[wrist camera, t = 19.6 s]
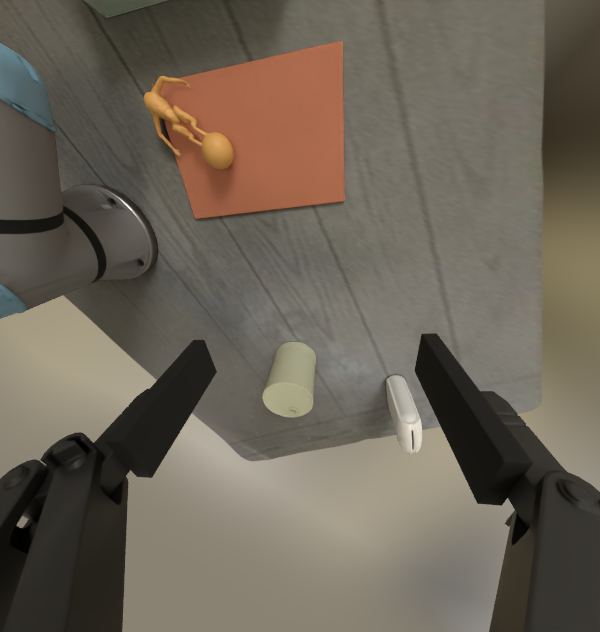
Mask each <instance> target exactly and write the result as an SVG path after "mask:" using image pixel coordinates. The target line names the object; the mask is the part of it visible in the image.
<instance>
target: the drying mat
mask: <svg viewBox="0 0 600 632" xmlns="http://www.w3.org/2000/svg"><path fill="white" fill-rule="evenodd" d="M177 79H181V80H183V81H185V82H186V83H188V84H189V85H190V87H188V86H189V85H188V86H187V87H185V86H184V85H183V84H182V83H179V84H173V83H167V82H164V84H163V87H162V90H161V95H162V96H163V97H164V98H165V99H166V100H167V101H168V103H169V105H170V106H171V108H172V109H173V107H174V106H175V105H176V106H177V107H178V108H180V109H181V110H182V111H184V112H186V113H188V114H189V115H191V116H192V117H194V118H195V119H196V121H197V128H199V129H200V130H202V131H204V132H206V133H212V132H217V133H220V134H222V135H224V136H225V137H226V138H227V139H228V140H229V141H230V143H231V145H232V148H233V152H234V158H233V162H232V164H231V165H230V166H229V167H228V168H226V169H223V170H219V169H215V168H213V167H212V166H211V165H209V164H208V162H207V161H206V160H205V158H204V156H203V153H202V147H200V146H198V145H197V144H195V143H193V142H191V141H190V140H189V138H188V137H185V136H183V135H182V134H180V133H178V132H175V131H174V130H173V129H172V125H173V124H172V122H170V121H168V120H165V119H164V122H165V125H166V128H167V132H168V135H169V138H170V141H171V144H172V146H173V147H174V149H178V150H180V151H178V152H180V153H181V154H180V153H179V154H180V155H181V156H180V155H179V156H180V157H179V156H178V155H177V154H175V153H174V154H175V157H176V160H177V163H178V166H179V169H180V173H181V176H182V179H183V182H184V185H185V188H186V191H187V195H188V198H189V201H190V204H191V207H192V210H193V214H194V217H195V219H199V218H207V217H215V216H224V215H232V214H240V213H249V212H257V211H266V210H274V209H282V208H291V207H299V206H308V205H316V204H324V203H333V202H341V201H344V122H343V41H339V42H334V43H330V44H326V45H321V46H317V47H313V48H308V49H304V50H299V51H295V52H291V53H286V54H282V55H278V56H273V57H269V58H264V59H260V60H256V61H251V62H247V63H243V64H238V65H234V66H229V67H225V68H221V69H216V70H212V71H208V72H203V73H199V74H194V75H190V76H186V77H181V78H177ZM155 85H156V83H155V84H153V87H154V86H155ZM173 110H174V109H173ZM180 121H181V122H180V123H179V124H183V125H185V126H186V127H187V128H188V130H189V131H190V132H191V133H192V134H193V135H194V137H195V140H197V141H199V142H201V143H202V142H203V139H204V136H202V135H201V134H199V133H198V132H196V131H195V130H194V129H193V128H192V127H191V122H190V123H185V122H184V121H182V120H181V119H180Z"/></svg>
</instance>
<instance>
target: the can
mask: <svg viewBox="0 0 600 632" xmlns="http://www.w3.org/2000/svg"><path fill="white" fill-rule="evenodd" d="M315 365H316V355H315V353H314V351H313V350H312V349H311V348H310V347H309V346H307V345H306V344H303V343H300V342H288V343H285V344H283V345H281V346H280V347H279V348H278V349H277V351H276V354H275V359H274V363H273V366H272V369H271V372H270V375H269V378H268V381H267V384H266V387H265V390H264V392H263V402H264V404H265V405H266V407H267V408H268V409H269V410H271V411H272V412H274V413H275V414H278V415H280V416H284V417H299V416H302V415H305V414H306V413H308V412H309V411H310V410H311V408H312V406H313V389H314V375H315Z"/></svg>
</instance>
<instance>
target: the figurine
mask: <svg viewBox="0 0 600 632" xmlns="http://www.w3.org/2000/svg"><path fill="white" fill-rule="evenodd" d="M164 82H167V83H173V84H179V83H182V84H183V85H184V86H185V87H187V86H188V85H189V84H188V83H186V82H185V81H183V80H181V79H177V78H168V77H165V76H160V77H159V79H158V80H157V83H156V85H155V86H154V87H153V89H152V91H151V92H148V93H146V94H145V95H144V103H145V105H146V107H147V109H148V110H149V111H150V112H151V114H152V117H153V120H154V123H155V127H156V131H157V134H158V136H159V137H160V138H161V139H162V140H163V141H164V142H165V143H166V144H167V145H168V146H169V147H170V148H171V149H172V150H173V151H174V153H175V154H177V155H178V156H179V155H180V154H181V153H180V152H178V151H180V150H178V149H174V147H173V146H172V145H171V143H170V142H169V141H168V140H167V139H166V138H165V137H164V136H163V134H162V133H161V127H160V121H159V118H163V119H165V120H168V121H170V122H172V124H173V125H172V129H173V130H174V131H175V132H178V133H180V134H182V135H183V136H185V137H188V138H189V140H190V141H191V142H193V143H195V144H197V145H198V146H200V147H202V153H203V156H204V158H205V160H206V161H207V162H208V164H209V165H211V166H212V167H213V168H215V169H219V170H223V169H226V168H228V167H229V166H230V165H231V164H232V162H233V158H234V152H233V148H232V145H231V143H230V141H229V140H228V139H227V138H226V137H225V136H224V135H222V134H220V133H217V132H212V133H206V132H204V131H202V130H200V129H199V128H197V121H196V119H195V118H194V117H192V116H191V115H189V114H188V113H186V112H184V111H182V110H181V109H180V108H178V107H177V106H176V105H175V106H174V107H173V109H174V110H173V109H172V108H171V106H170V105H169V103H168V101H167V100H166V99H165V98H164V97H163V96H162V95H161V90H162V87H163V84H164ZM188 87H190V85H189V86H188ZM180 119H181V120H182V121H184V122H185V123H190V122H191V127H192V128H193V129H194V130H195V131H196V132H198V133H199V134H201V135H202V136H204V139H203V142H202V143H201V142H199V141H197V140H195V137H194V135H193V134H192V133H191V132H190V131H189V130H188V128H187V127H186V126H185V125H183V124H179V123H180V122H181V121H180ZM179 153H180V154H179ZM180 156H181V155H180ZM180 156H179V157H180Z"/></svg>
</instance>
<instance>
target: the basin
mask: <svg viewBox="0 0 600 632" xmlns="http://www.w3.org/2000/svg"><path fill="white" fill-rule="evenodd" d="M84 1H85V2H86V3H88V4H89V5H90V6H92V7H93V8H94V9H95V10H97V11H98V12H99V13H101V14H102V15H103V16H105V17H106V18H110V17H113V16H117V15H120V14H124V13H127V12H131V11H134V10H138V9H141V8H144V7H148V6H151V5H155V4H158V3H162V2H165V1H169V0H84Z"/></svg>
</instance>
